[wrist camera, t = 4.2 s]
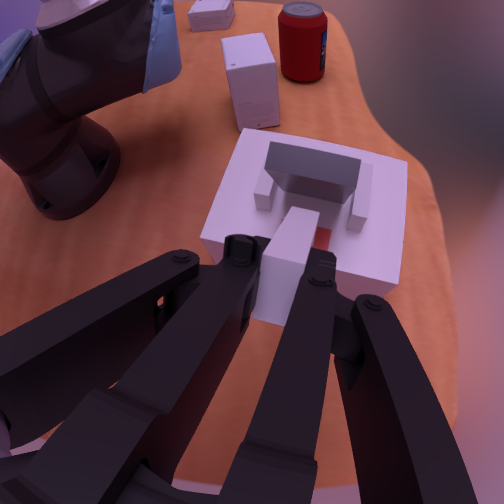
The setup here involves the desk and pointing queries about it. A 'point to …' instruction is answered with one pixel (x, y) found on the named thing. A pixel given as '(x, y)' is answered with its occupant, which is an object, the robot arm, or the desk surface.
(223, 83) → the desk surface
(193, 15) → the small box
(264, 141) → the breaker box
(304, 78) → the beverage can
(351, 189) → the lever
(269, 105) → the small box
